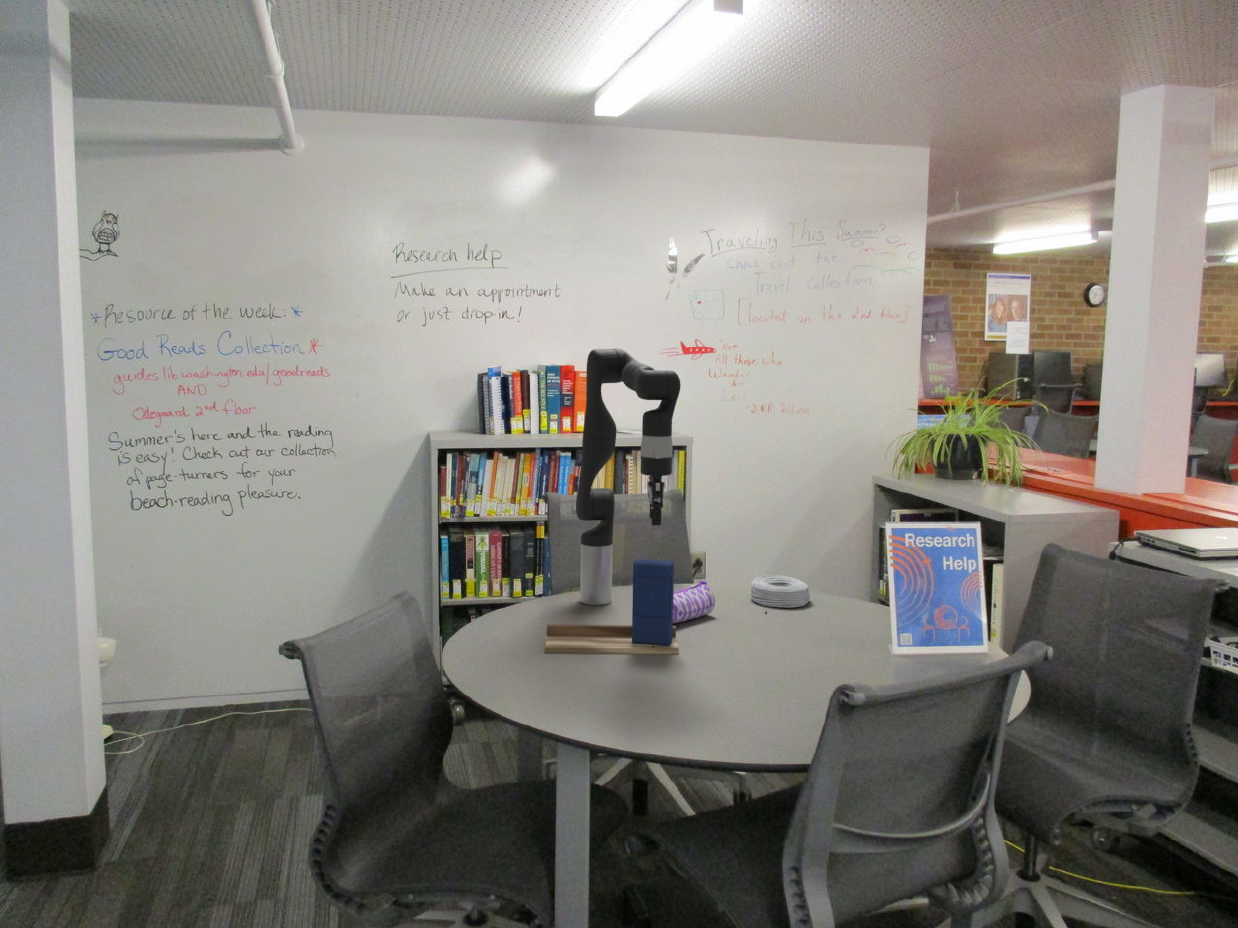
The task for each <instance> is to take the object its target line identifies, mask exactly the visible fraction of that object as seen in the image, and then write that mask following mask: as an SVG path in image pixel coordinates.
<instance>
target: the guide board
mask: <svg viewBox="0 0 1238 928" xmlns="http://www.w3.org/2000/svg"><path fill="white" fill-rule="evenodd" d="M676 626H677V625H673V637H672V643H671V645H670V646H668V645H656V644H644V643H633V642H632V624H631V625H630V624H626V625H624V624H612V625H611V624H608V625H607V624H547V625H546V637H545V638H546V639H545V644H544V653H545V652H564V653H563V654H567V653H566V652H573V653H572V654H642V655H643V654H651V655H652V654H654V655H655V654H656V655H657V654H659V655H660V654H662V655H663V654H665V655H667V654H668V655H672V654H673V655H675V654H676V655H678V654H679V652H680V651H679V650H680V648H679V644H678V640H677V627H676ZM574 652H576V653H574Z"/></svg>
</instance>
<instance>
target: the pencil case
mask: <svg viewBox="0 0 1238 928" xmlns="http://www.w3.org/2000/svg"><path fill="white" fill-rule="evenodd" d="M715 604H716V599H715V596H714V593H713V592H712V590H711V589H710V587H709V586H707V581H705V580H700V581H698V582H696V584H694V585H690V586H689V587H685V588H682V589H680V590H676V591H674V594H673V624H677V623H682V622H687V621H689V620H692V619H697V618H700V617H703V616H708V615H710V614H711V613H712V612H713V610H714V608H715Z"/></svg>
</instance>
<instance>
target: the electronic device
mask: <svg viewBox="0 0 1238 928" xmlns="http://www.w3.org/2000/svg"><path fill="white" fill-rule="evenodd" d="M632 567H633V569H632V609H631V610H632V611H631V612H632V617H631V619H632V624H631V625H632V642H633V643H644V644H656V645H668V646H670V645H671V643H672V637H673V626H674V625H673V624H674V623H673V594H674V592H675V591H674V588H675V585H674V583H675V561H673V560H672V561H671V560H657V559H643V558H642V559H641V558H636V559H635V560H634V561H633V565H632Z"/></svg>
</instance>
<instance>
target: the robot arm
mask: <svg viewBox="0 0 1238 928" xmlns="http://www.w3.org/2000/svg"><path fill="white" fill-rule="evenodd" d="M622 382H623V385H624V386H625V387H626V388H628V389H629V390H631V391H633V392H635V394H636V395H637V397H638V398H639V399H641V400H644V401H645V400H646V401H660V403H659V405H658V407H657V408H654V409H650V410H646V411H645V412H643V414H642V419H641V420H642V423H641V424H642V426H641V428H642V429H641V430H642V431H641V435H642V436H641V443H640V474H642V475H643V476H648V481H647V483H646V487H647V497H648V502H649V519H650V520H651V525H652V526H661V525H662V510H663V507H664V504H663V503H664V499H665V488H666V487H665V486H666V484H665V481H663V479H662V478H663V476H664V477H665V476H671V475H672V474H673V446H674V445H673V438H672V435H673V417H674V413H675V409H676V405H677V401H678V399H679V395H680V391H681V379H680V377H679V375H678V374H677V372H676V371H674V370H668V369H667V370H664V369H663V370H662V369H661V370H659V369H658V370H655V368H653V367H652V366H649V365H647V364H645V363H641V362H639V361H638V360H636V358H634V357H633V356H632V355H631V354H630V353H629V352H627V351H626V350H624V349H620V348H595V349H592V350H591V351H590V352H589V353H588V355H587V360H586V382H585V383H586V387H585V388H586V394H585V395H586V396H585V397H586V398H585V399H586V400H585V413H584V414H585V415H584V421H583V423H584V424H583V432H582V444H581V445H582V446H581V447H582V448H581V461H580V462H581V463H580V464H581V465H580V473H579V479H578V487H577V491H576V499H575V512H576V516H577V518H578V519H579V520H580V521H587V522H589V521H600V522H599V523H598V524H597V525H596V526H595V527H592V528H591V529H589V530H586V531H584V532H582V533H581V536H580V578H579V579H580V590H579V591H580V592H579V593H580V595H579V596H580V597H579V600H580V603H582V604H585V605H589V606H603V605H608V604H610V603H612V600H613V599H612V598H613V596H612V595H613V593H612V592H613V550H614V548H613V539H614V520H615V519H614V518H615V507H616V504H615V503H616V501H615V494H614V492H613V490H612V489H611V488H607V487H606V488H604V487H603V488H593V484H594V481H595V479H596V477H597V476H598V474H599V473H600V471H602V469H603V468H604V466H606V464H607V463H608V462H609V460H610V459H611V457H612V456H613V454H614V452H615V449H616V443H617V431H618V429H617V425H616V422H615V420H614V418H613V416H612V415H611V413H610V412H609V409H608V408H607V405H606V404H605V402H604V400H603V396H602V395H603V394H602V386H603V385H604V384H618V383H622Z"/></svg>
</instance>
